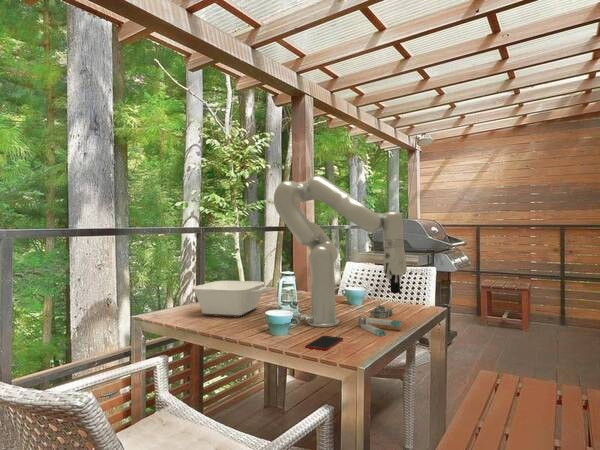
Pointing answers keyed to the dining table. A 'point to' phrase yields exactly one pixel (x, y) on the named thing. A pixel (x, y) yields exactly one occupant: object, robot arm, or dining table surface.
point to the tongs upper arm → (384, 322)
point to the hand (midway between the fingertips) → (395, 292)
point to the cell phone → (324, 343)
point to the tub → (229, 297)
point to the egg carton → (380, 312)
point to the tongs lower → (370, 327)
